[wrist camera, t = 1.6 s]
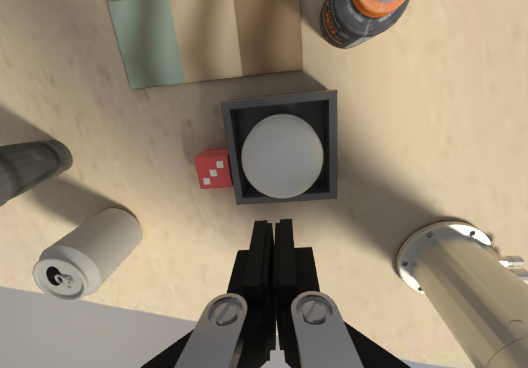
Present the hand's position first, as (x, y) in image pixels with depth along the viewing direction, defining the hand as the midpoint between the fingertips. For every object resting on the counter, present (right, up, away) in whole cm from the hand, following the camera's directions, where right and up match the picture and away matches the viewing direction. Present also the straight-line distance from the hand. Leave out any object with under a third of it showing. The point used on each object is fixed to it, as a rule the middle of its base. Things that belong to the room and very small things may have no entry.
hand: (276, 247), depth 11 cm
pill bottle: (+8, +21, +16) cm, 28 cm away
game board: (-7, +20, +17) cm, 27 cm away
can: (-23, -4, +28) cm, 36 cm away
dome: (+2, +7, +19) cm, 20 cm away
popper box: (0, +8, +21) cm, 23 cm away
